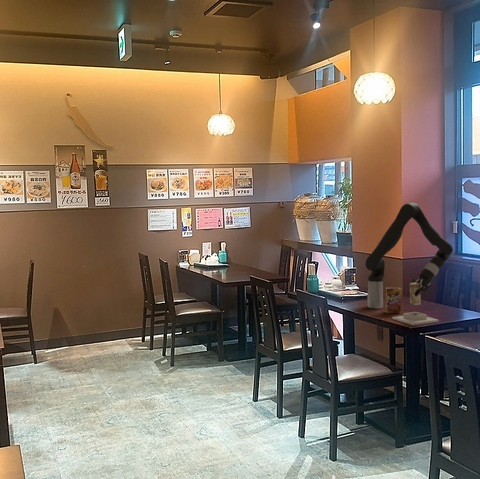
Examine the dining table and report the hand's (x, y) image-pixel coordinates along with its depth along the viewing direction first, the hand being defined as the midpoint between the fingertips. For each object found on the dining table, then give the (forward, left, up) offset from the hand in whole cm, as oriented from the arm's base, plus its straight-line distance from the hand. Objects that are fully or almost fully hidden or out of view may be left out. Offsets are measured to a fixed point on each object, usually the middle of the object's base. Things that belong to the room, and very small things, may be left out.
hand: (412, 294), depth 330 cm
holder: (0, +2, -15) cm, 15 cm away
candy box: (-24, +5, -15) cm, 29 cm away
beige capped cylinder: (0, +2, -6) cm, 6 cm away
